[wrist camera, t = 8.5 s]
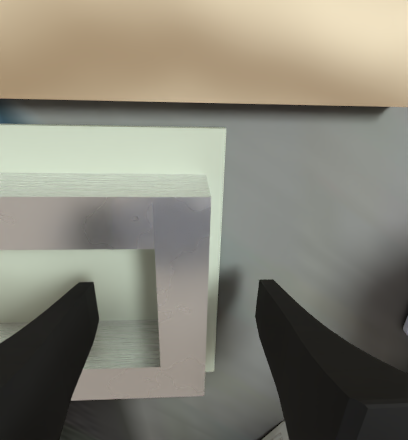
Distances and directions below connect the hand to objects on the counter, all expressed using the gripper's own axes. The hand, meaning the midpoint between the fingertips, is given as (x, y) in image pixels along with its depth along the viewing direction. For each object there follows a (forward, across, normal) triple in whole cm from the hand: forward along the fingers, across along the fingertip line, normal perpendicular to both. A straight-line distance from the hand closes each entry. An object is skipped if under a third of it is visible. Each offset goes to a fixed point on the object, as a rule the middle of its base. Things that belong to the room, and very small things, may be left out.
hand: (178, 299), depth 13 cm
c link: (+2, +5, 0) cm, 5 cm away
